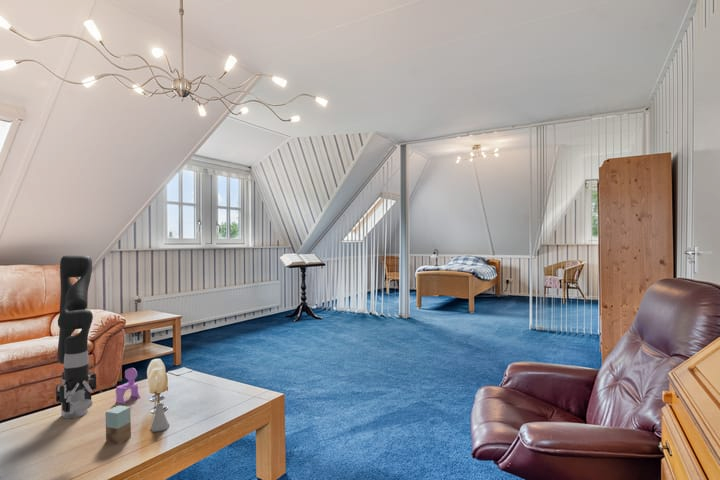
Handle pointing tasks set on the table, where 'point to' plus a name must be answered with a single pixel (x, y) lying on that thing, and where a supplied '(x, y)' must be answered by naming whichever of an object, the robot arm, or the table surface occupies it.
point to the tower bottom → (118, 434)
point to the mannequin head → (80, 405)
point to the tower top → (118, 417)
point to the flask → (159, 419)
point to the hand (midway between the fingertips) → (77, 406)
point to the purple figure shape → (127, 386)
